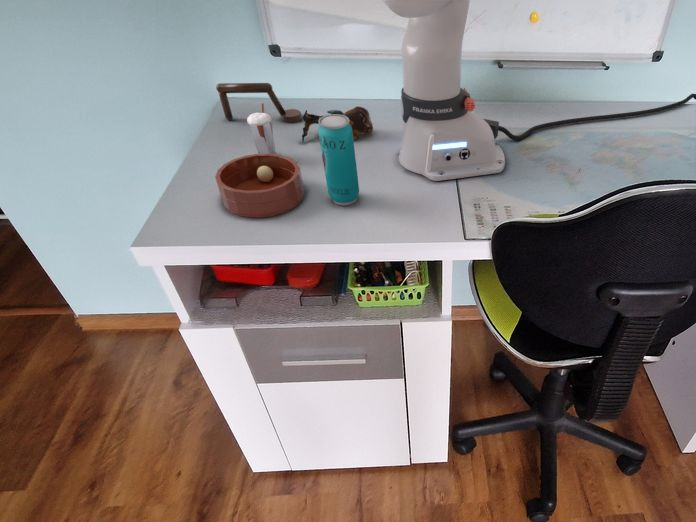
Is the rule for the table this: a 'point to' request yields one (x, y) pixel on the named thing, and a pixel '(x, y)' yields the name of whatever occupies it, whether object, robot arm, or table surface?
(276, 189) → the bowl
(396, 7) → the robot arm
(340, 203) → the beverage can
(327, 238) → the table surface
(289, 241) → the table surface
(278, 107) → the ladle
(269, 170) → the ball
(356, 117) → the figurine
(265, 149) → the milkshake
